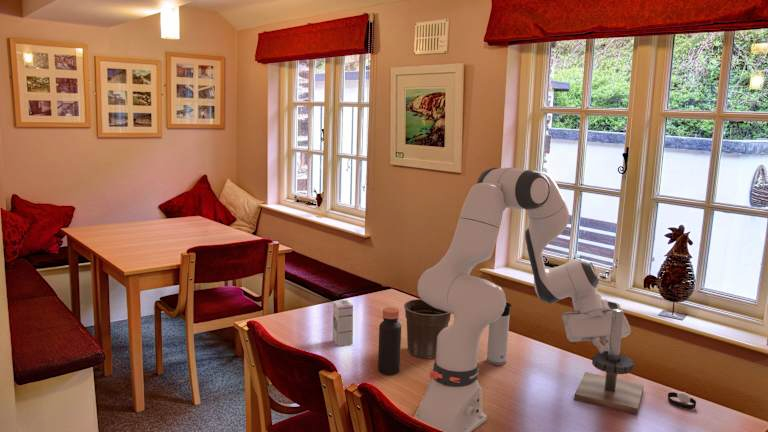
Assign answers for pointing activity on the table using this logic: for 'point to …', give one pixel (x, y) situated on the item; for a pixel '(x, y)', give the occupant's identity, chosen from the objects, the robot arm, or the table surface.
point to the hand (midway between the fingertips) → (606, 352)
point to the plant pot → (424, 327)
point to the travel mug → (498, 338)
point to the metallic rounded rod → (614, 347)
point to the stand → (609, 393)
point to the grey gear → (612, 364)
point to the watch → (683, 398)
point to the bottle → (389, 342)
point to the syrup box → (342, 322)
